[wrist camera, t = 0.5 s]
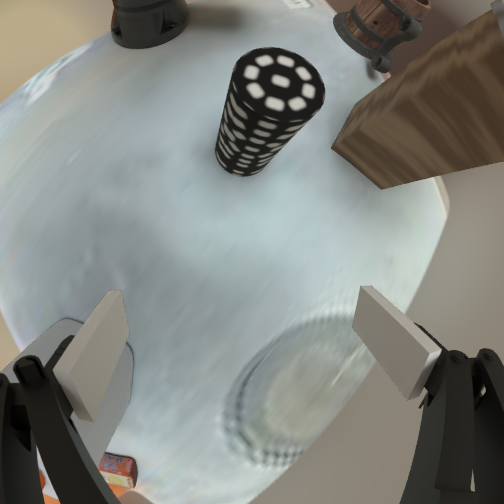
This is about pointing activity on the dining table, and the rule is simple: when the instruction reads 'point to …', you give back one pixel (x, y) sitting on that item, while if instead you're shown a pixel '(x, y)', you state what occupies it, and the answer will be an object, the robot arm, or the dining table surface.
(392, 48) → the tankard
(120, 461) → the snack package
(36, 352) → the plastic bottle
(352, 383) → the dining table surface
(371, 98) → the column
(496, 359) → the robot arm
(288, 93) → the white-spotted black cylinder
